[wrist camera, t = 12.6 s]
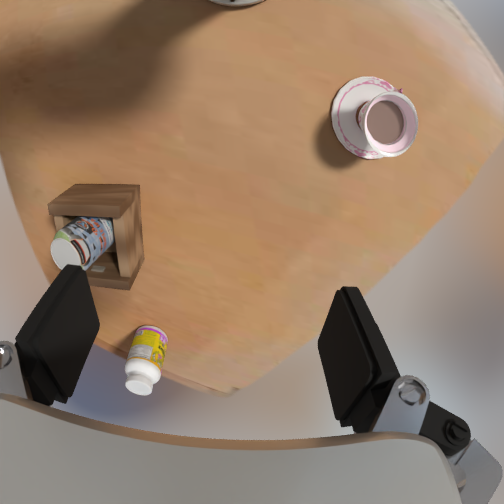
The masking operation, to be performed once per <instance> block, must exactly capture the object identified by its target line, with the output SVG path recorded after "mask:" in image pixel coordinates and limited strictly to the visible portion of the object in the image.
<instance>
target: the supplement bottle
mask: <svg viewBox="0 0 504 504" xmlns="http://www.w3.org/2000/svg"><path fill="white" fill-rule="evenodd" d="M167 343H168V339H167V336H166V334H165V333H164V332H163V331H162V330H161V329H159V328H157V327H155V326H149V325H146V326H141V327H140V328H138V329H137V331H136V333H135V336H134V339H133V342H132V345H131V348H130V351H129V354H128V358H127V361H126V364H125V372H126V374H127V376H128V377H127V380H126V387H127V388H128V389H129V390H130V391H131V392H133V393H135V394H138V395H148V394H150V393H151V392H152V388H153V385H152V384H155V383H156V382H158V380H159V379H160V376H161V371H162V366H163V362H164V357H165V352H166V348H167Z"/></svg>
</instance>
